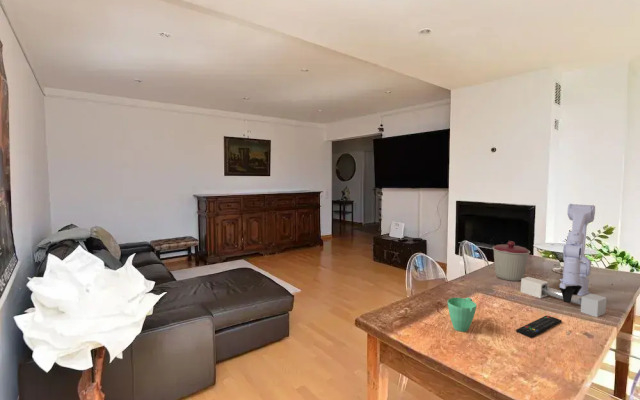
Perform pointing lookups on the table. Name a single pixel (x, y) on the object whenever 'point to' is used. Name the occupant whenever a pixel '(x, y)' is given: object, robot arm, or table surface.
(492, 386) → the table surface
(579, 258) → the robot arm
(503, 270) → the canister
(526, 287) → the sleeve
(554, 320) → the remote control
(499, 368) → the table surface
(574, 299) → the tube
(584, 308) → the socket
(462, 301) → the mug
